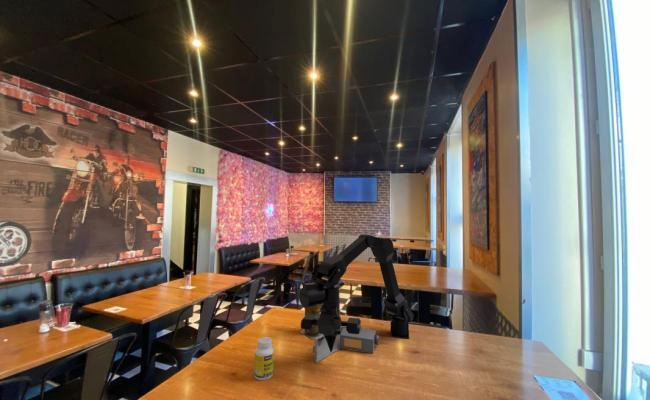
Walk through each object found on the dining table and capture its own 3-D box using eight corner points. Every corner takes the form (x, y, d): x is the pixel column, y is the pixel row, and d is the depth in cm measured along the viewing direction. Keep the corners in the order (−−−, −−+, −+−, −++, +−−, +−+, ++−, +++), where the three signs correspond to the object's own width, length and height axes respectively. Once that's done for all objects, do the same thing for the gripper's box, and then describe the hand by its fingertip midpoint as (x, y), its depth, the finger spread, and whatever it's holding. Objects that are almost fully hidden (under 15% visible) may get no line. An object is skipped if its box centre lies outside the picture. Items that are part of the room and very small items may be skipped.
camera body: (379, 343, 97) (379, 323, 97) (376, 355, 88) (376, 333, 88) (342, 338, 101) (342, 318, 101) (336, 349, 92) (336, 327, 92)
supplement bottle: (263, 383, 73) (264, 346, 73) (250, 376, 75) (251, 341, 76) (277, 373, 77) (278, 338, 78) (263, 367, 80) (264, 334, 81)
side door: (316, 362, 83) (317, 339, 83) (312, 361, 84) (313, 338, 84) (337, 349, 91) (337, 328, 92) (333, 348, 92) (334, 327, 93)
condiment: (313, 327, 110) (314, 298, 111) (327, 334, 104) (327, 303, 105) (299, 332, 106) (299, 301, 107) (312, 339, 99) (312, 306, 100)
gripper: (294, 307, 80) (294, 361, 79) (356, 311, 75) (357, 369, 74) (305, 296, 90) (306, 343, 89) (360, 300, 86) (361, 349, 85)
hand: (331, 351), depth 84 cm, fingers closed
